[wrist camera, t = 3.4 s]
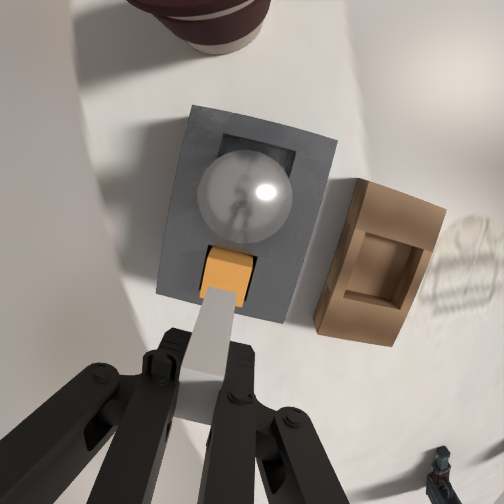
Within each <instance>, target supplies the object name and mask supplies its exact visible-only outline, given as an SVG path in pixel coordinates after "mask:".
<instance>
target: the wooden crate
mask: <svg viewBox="0 0 504 504" xmlns="http://www.w3.org/2000/svg"><path fill="white" fill-rule="evenodd" d="M445 214H446V209H444V208H441V207H439V206H436V205H434V204H431V203H428V202H426V201H423V200H421V199H418V198H415V197H413V196H410V195H407V194H405V193H402V192H399V191H396V190H393V189H391V188H388V187H385V186H382V185H379V184H376V183H373V182H370V181H367V180H364V179H360V178H358V180H357V184H356V187H355V191H354V194H353V198H352V201H351V205H350V208H349V211H348V215H347V218H346V221H345V224H344V228H343V231H342V234H341V237H340V240H339V244H338V247H337V250H336V253H335V256H334V259H333V262H332V265H331V268H330V271H329V274H328V277H327V280H326V282H325V285H324V288H323V291H322V294H321V297H320V299H319V302H318V305H317V308H316V311H315V313H314V316H313V321H314V325H315V328H316V332H317V334H318V335H323V336H328V337H334V338H339V339H345V340H351V341H357V342H363V343H369V344H375V345H381V346H388V347H392V346H393V344H394V342H395V340H396V338H397V336H398V334H399V331H400V329H401V327H402V325H403V323H404V321H405V319H406V316H407V314H408V312H409V310H410V307H411V305H412V303H413V301H414V298H415V296H416V293H417V291H418V289H419V286H420V284H421V281H422V279H423V276H424V274H425V271H426V268H427V266H428V263H429V261H430V258H431V255H432V252H433V250H434V247H435V244H436V241H437V238H438V235H439V232H440V229H441V226H442V223H443V220H444V217H445Z"/></svg>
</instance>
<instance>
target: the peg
mask: <svg viewBox="0 0 504 504" xmlns="http://www.w3.org/2000/svg"><path fill="white" fill-rule="evenodd" d="M291 205H292V188H291V184H290V181H289V178H288V176H287V174H286V173H285V171H284V170H283V168H282V167H281V166H280V165H279V164H278V163H277V162H276V161H275V160H273V159H272V158H270V157H269V156H267V155H265V154H263V153H260V152H257V151H251V150H238V151H233V152H230V153H227V154H225V155H223V156H221V157H219V158H218V159H216V160H215V161H214V162H213V163H212V164H211V165H210V166H209V167H208V168H207V169H206V171H205V172H204V174H203V176H202V178H201V180H200V184H199V187H198V206H199V210H200V213H201V215H202V217H203V219H204V221H205V222H206V224H207V225H208V226H209V227H210V229H211V230H212V231H214V232H215V233H216V234H217V235H219V236H220V237H222V238H224V239H226V240H229V241H232V242H236V243H254V242H258V241H261V240H264V239H266V238H268V237H270V236H271V235H273V234H274V233H275V232H277V231H278V230H279V229H280V228H281V227H282V225H283V224H284V222H285V221H286V219H287V217H288V215H289V213H290V210H291Z"/></svg>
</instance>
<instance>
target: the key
mask: <svg viewBox="0 0 504 504" xmlns="http://www.w3.org/2000/svg"><path fill="white" fill-rule="evenodd" d="M252 266H253V255H250V254H246V253H242V252H237V251H233V250H229V249H225V248H221V247H217V246H213V247H212V249H211V251H210V253H209V255H208V258H207V263H206V267H205V272H204V277H203V282H202V287H201V292H200V298H204V297H205V295H206V292H207V289H208V286H210V287H214V288H218V289H222V290H226V291H230V292H235V293H237V296H236V303H235V306H238V307H242V305H243V301H244V298H245V294H246V290H247V286H248V283H249V279H250V275H251V271H252Z"/></svg>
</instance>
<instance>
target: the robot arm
mask: <svg viewBox="0 0 504 504" xmlns="http://www.w3.org/2000/svg"><path fill="white" fill-rule="evenodd" d="M236 296H237V293H235V292H230V291H226V290H222V289H218V288H214V287H210V286H208V289H207V292H206V295H205V297H204V300H203V303H202V306H201V309H200V312H199V315H198V318H197V321H196V324H195V326H194V329H193V332H188V331H184V330H180V329H176V328H173V327H172V328H171V329H170V330H168V331H167V332H165V334H164V336H163V338H162V341H161V342H160V344H159V347H158V349H157V350H151V351H149V352H146V354H145V355H144V356H143V365H142V373H141V374H139V375H130V376H129V375H119V373H118V371H117V369H116V368H114V367H113V366H112V365H109V364H106V363H93V364H91V365H89V366H87V367H86V368H85V369H84V370H83V371H81V372H80V373H79V374H78V375H76V376H75V377H74V378H73V379H72V380H70V381H69V382H68V383H67V384H66V385H65V386H63V387H62V388H61V389H60V390H59V391H57V392H56V393H55V394H54V395H53V396H52V397H50V398H49V399H48V400H47V401H46V402H44V403H43V404H42V405H41V406H40V407H39V408H38V409H36V410H35V411H34V412H33V413H32V414H31V415H29V416H28V417H27V418H26V419H25V420H23V421H22V422H21V423H20V424H19V425H18V426H16V427H15V428H14V429H13V430H12V431H11V432H10V433H9V434H7V435H6V436H5V437H4V438H3V439H1V440H0V504H53V503H54V502H55V501H56V500H57V499H58V497H59V496H60V495H61V494H62V493H63V491H65V489H66V488H67V487H68V486H69V485H70V484H71V483H72V481H73V480H74V479H75V478H76V477H77V476H78V475H79V473H80V472H81V471H82V470H83V469H84V468H85V466H86V465H87V464H88V463H89V462H90V461H91V459H92V458H93V457H94V456H95V455H96V454H97V453H98V451H99V450H100V449H101V448H102V447H103V446H104V444H105V443H106V442H107V441H108V440H109V439H110V437H111V436H112V435H113V434H114V433H115V432H116V433H115V435H114V437H113V440H112V442H111V444H110V447H109V449H108V451H107V454H106V456H105V459H104V461H103V463H102V466H101V468H100V471H99V473H98V476H97V478H96V480H95V483H94V485H93V488H92V491H91V493H90V495H89V498H88V501H87V503H86V504H151V500H152V497H153V493H154V489H155V485H156V481H157V478H158V474H159V470H160V466H161V463H162V459H163V455H164V451H165V448H166V444H167V440H168V437H169V433H170V430H171V425H172V419H173V415H174V417H178V418H182V419H186V420H190V421H194V422H198V423H203V424H207V425H211V429H210V432H209V436H208V439H207V443H206V446H207V448H206V454H205V460H204V466H203V472H202V478H201V484H200V490H199V496H198V503H197V504H254V481H255V457H256V461H257V464H258V468H259V471H260V475H261V478H262V482H263V485H264V489H265V492H266V495H267V499H268V502H269V504H350V503H349V501H348V499H347V497H346V495H345V493H344V491H343V489H342V486H341V484H340V482H339V480H338V478H337V476H336V474H335V471H334V469H333V467H332V465H331V463H330V461H329V459H328V456H327V454H326V452H325V450H324V448H323V446H322V443H321V441H320V439H319V437H318V435H317V433H316V430H315V428H314V426H313V424H312V422H311V419H310V418H309V416H308V415H307V414H306V413H305V412H304V411H302V410H300V409H298V408H295V407H283V408H281V409H279V410H278V411H275V410H272V409H270V408H268V407H266V406H264V405H262V404H261V403H260V402H259V401H258V400H257V399H256V396H255V394H254V366H255V352H254V351H253V349H252V347H251V345H247V344H242V343H237V342H233V341H230V336H231V329H232V323H233V316H234V309H235V303H236Z"/></svg>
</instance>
